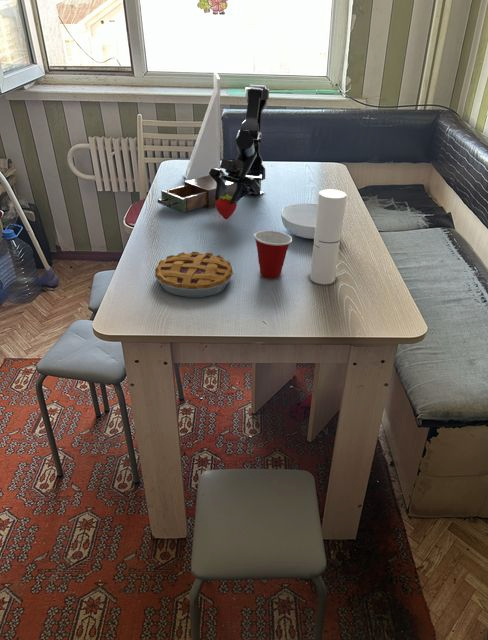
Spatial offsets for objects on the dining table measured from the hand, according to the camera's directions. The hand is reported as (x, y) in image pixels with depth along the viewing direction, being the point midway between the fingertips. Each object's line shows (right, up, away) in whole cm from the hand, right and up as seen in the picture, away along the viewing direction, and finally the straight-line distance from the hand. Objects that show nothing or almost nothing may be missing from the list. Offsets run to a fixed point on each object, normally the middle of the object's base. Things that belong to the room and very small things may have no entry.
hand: (223, 202), depth 181 cm
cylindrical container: (+31, -30, -28) cm, 51 cm away
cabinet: (-6, +8, +23) cm, 25 cm away
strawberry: (+1, -5, +5) cm, 7 cm away
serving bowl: (+30, -11, 0) cm, 32 cm away
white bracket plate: (-12, +21, +42) cm, 48 cm away
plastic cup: (+16, -29, -27) cm, 43 cm away
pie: (-6, -32, -32) cm, 46 cm away
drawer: (-16, +3, +14) cm, 21 cm away
